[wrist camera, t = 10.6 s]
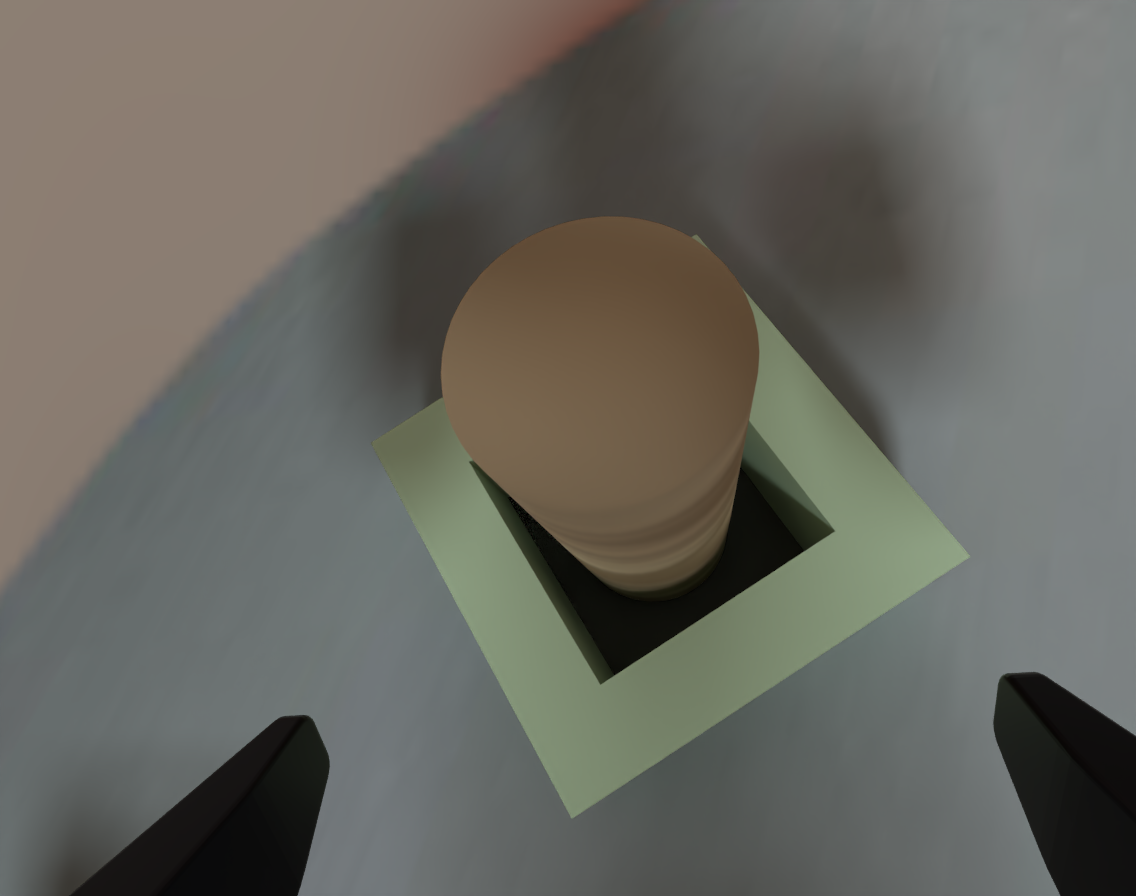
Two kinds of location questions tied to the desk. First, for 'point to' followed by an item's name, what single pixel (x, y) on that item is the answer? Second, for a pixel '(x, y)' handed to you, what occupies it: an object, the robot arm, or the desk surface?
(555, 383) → the beige ridged cylinder
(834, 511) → the pale green square holder
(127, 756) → the desk surface
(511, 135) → the desk surface
